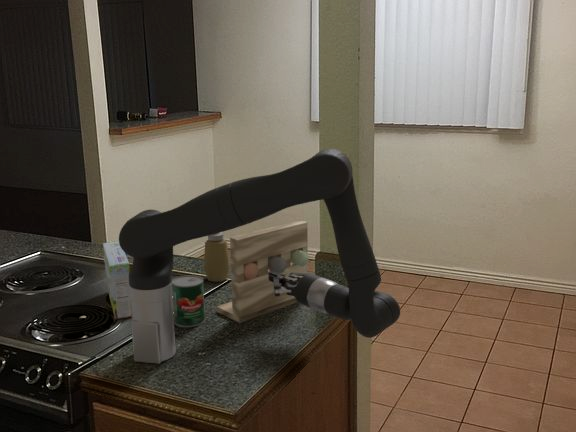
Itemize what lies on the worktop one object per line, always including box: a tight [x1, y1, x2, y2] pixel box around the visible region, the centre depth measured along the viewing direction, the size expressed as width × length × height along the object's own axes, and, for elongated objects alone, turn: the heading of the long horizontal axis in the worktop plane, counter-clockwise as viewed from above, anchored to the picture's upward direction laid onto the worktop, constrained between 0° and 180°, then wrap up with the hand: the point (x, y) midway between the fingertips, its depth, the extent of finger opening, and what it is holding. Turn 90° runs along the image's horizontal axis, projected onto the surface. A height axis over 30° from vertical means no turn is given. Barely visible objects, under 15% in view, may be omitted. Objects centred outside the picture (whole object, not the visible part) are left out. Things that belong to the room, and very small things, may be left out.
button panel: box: [215, 219, 309, 324], centre depth 169 cm, size 10×24×22 cm, turn 133°
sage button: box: [291, 249, 310, 267], centre depth 170 cm, size 4×4×4 cm
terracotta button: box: [244, 262, 258, 279], centre depth 161 cm, size 4×4×4 cm
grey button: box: [268, 256, 287, 274], centre depth 165 cm, size 4×4×4 cm
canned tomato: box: [171, 274, 206, 328], centre depth 161 cm, size 8×8×11 cm
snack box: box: [102, 240, 132, 320], centre depth 172 cm, size 21×6×15 cm, turn 21°
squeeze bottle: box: [203, 232, 231, 283], centre depth 190 cm, size 8×8×18 cm
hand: (270, 275), depth 156 cm, fingers closed
